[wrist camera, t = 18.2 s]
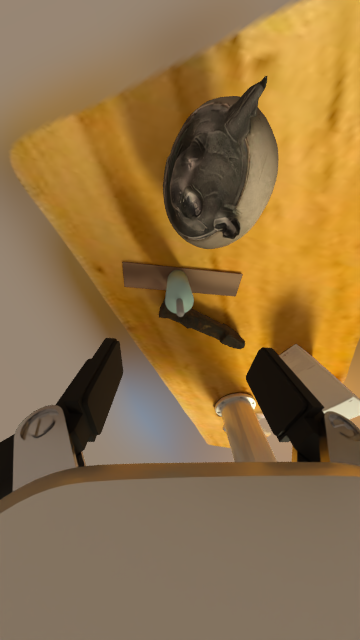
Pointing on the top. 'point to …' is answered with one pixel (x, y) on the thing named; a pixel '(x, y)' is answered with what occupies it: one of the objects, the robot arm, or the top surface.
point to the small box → (322, 383)
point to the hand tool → (205, 326)
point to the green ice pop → (178, 293)
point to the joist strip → (197, 279)
